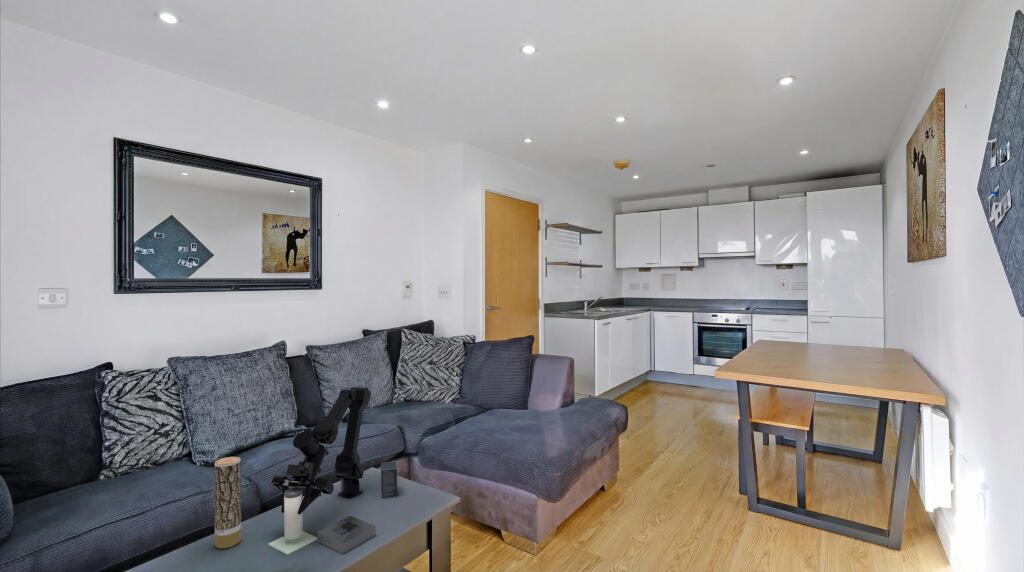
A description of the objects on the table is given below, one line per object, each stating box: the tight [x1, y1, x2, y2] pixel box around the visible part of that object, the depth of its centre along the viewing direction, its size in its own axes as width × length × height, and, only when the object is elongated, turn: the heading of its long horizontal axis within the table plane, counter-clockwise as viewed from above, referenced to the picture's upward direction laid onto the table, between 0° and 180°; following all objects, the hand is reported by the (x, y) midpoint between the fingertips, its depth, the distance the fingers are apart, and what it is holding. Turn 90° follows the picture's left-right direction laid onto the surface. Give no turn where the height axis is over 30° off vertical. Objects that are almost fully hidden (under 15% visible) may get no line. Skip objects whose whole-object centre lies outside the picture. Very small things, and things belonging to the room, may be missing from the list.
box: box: [380, 460, 398, 499], centre depth 176 cm, size 8×6×11 cm
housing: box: [316, 515, 377, 555], centre depth 144 cm, size 12×12×3 cm
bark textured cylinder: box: [214, 456, 242, 550], centre depth 142 cm, size 7×7×25 cm
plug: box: [283, 487, 304, 540], centre depth 142 cm, size 5×5×13 cm
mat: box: [267, 530, 317, 556], centre depth 142 cm, size 10×10×1 cm
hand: (290, 513), depth 141 cm, fingers closed on plug, 5 cm apart
